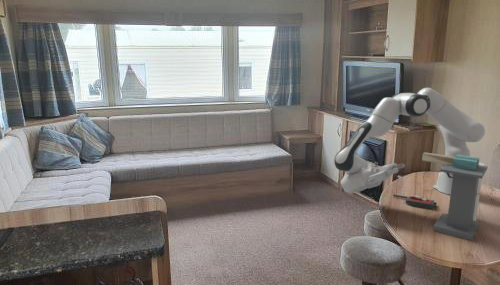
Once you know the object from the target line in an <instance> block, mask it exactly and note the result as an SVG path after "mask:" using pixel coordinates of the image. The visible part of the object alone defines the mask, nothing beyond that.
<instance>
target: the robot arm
mask: <svg viewBox="0 0 500 285" xmlns="http://www.w3.org/2000/svg"><path fill="white" fill-rule="evenodd" d="M425 114H426V115H427V116H428V117H430V118H431V119H432V120H433V121H434V122H435V123H436V124H438V127H439V130H440V132H441V134H442V137H443V139H444V146H445V147H444V148H445V153H444V155H446V156H452V157H455V156H456V155H463V156H470V157H471V151H470V149H469V147H468V146H467V143H476V142H480V141H481V140H482V139H483V138H484V136H485V133H486V128H485V126H484V125H483V124H481V123H480V122H478V121H477V120H475V119H473V118H472V117H471V116H469V115H468V114H466V113H465V112H464V111H461V110H460V109H459V108H457V107H456V106H455V105H453V104H452V103H451V102H450V101H449V100H448V99H447V98H446V97H445V96H444V95H442V94H441V93H440V92H438V91H437V90H434V89H433V88H431V87H423V88H421V89H420V90H419V91H417V93H413V92H399V93H395V94H394V95H392V96H391V97H383V98H382V99H381V100H380V101H379V103H378V104H377V105H376V106H375V108H374V109H373V111H372V113H370V116H369V117H368V119H367V120H366V121H365V122H362V123H361V124H360V125H359V126H357V129H355V131H354V132H353V134H352V135H351V136H350V138H349V139H348V141H347V142H346V143H345V145H344V146H343V147H342V148H341V149H340V150H339V151H338V152H337V153H336V155H335V156H334V159H333V160H334V162H333V163H334V166H335V168H336V169H338V170H339V171H342V172H344V175H343V177H342V178H341V180H340V186H341V188H342V189H343V191H344V192H346V193H348V194H355V193H358V192H362V191H364V190H366V189H372V188H374V187H378V186H381V184H382V182H383V181H386V180H388V178H390V177H391V176H393V175H394V174H397V173H398V172H399V170H400V169H404V168H406V165H405V163H399V164H397V163H396V162H394V163H389V164H386V165H382V166H380V165H378V166H372V167H369V168H368V163H367V161H366V160H365V159H364V158H362V157H360V156H359V155H356V153H357V152H358V150H359V149H360V147H361V146H362V145H363V143H364V142H365V141H366V140H368V138H374V137H375V138H378V137H383V136H385V135H386V134H387V133H388V132H389V131H390V130H391V128H392V127H393V125H394V123H395V121H396V119H397V118H398V117H399V116H400V115H403V116H408V117H414V118H415V117H421V116H423V115H425ZM444 165H445V164H442V167H443V166H444ZM452 180H453V174H452V173H446V172H439V173H438V177H437V181H436V184H433V186H432V188H434V189H436V190H438V191H439V192H441V193H443V194H447V195H451V188H452Z"/></svg>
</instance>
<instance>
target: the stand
mask: <svg viewBox="0 0 500 285" xmlns="http://www.w3.org/2000/svg"><path fill="white" fill-rule="evenodd" d="M487 170H488V166H487V165H484V166H481V165H478V167H477V169H476V170H475V171H473V170H467V169H461V168H455V167H452V165H446V164H445V165H444V166H443V165H442V167H441V168H440V172H439V173H441V172H446V173H452V174H453V180H452V188H451V195H450V194H449V195H450V196H449V204H448V212H447V214H446V213H444V212H443V213H441V215H440V216H439V217H438V218H437V220H436V221H435V223H434V224H433V231H434V232H438V233H440V234H441V233H442V234H446V235H450V236H453V237H456V238H457V237H458V238H461V239H465V240H468V241H473V240H474V237H475V236H476V234H477V231H478V228H479V225H480V222H479V221H478V220H476V221H473V215H474V208H475V201H476V194H477V188H478V181H479V178H481V179H482V180H483V177H484V175H485V174H486V172H487Z"/></svg>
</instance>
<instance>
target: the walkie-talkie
mask: <svg viewBox="0 0 500 285" xmlns="http://www.w3.org/2000/svg"><path fill="white" fill-rule="evenodd" d="M392 197H396V198H401V199H405V202H404V203H405V204H406V205H407V206H410V207H416V208H421V207H422V208H421V209H428V210H434V206H437V204H438V203H437V202H435V200H433V199H428V197H425V198H424V197H422V196H420V195H415V194H410V195H409V196H405V195H398V194H394V193H393V194H392Z"/></svg>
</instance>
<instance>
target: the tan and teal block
mask: <svg viewBox="0 0 500 285" xmlns="http://www.w3.org/2000/svg"><path fill="white" fill-rule="evenodd" d="M421 161H422V162H428V163H434V164H441V165H443V164H446V165H452V167H455V168H461V169H467V170H473V171H475V170H476V169H477V167H478V165H479V162H480V157H476V156H471V155H470V156H463V155H456V156H455V157H452V156H446V155H445V154H438V153H432V152H431V153H430V152H425V151H424V152H423V153H422V158H421Z"/></svg>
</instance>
